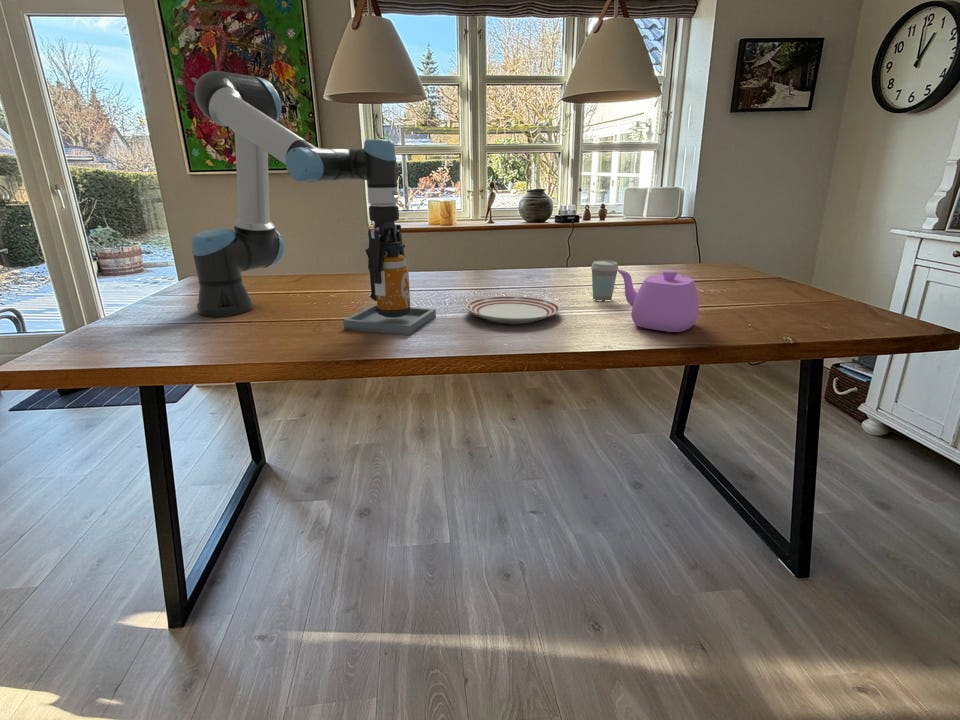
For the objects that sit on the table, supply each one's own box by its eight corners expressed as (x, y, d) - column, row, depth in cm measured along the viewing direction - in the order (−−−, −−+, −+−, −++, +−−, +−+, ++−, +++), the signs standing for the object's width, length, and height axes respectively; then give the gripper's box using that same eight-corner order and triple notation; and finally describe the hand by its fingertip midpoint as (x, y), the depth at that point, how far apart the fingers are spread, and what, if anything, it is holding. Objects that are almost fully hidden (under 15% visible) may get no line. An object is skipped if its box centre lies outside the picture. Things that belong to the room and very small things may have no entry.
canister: (404, 319, 139) (400, 243, 131) (365, 317, 141) (359, 242, 134) (415, 310, 147) (411, 238, 140) (378, 308, 149) (372, 237, 142)
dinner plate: (490, 300, 169) (490, 290, 168) (571, 309, 158) (572, 299, 157) (448, 322, 146) (448, 310, 145) (541, 335, 135) (541, 323, 134)
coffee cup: (614, 304, 163) (617, 265, 159) (586, 301, 166) (589, 264, 162) (616, 297, 171) (620, 261, 167) (590, 295, 173) (593, 259, 169)
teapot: (706, 320, 147) (714, 266, 141) (685, 339, 130) (694, 280, 125) (627, 308, 159) (632, 258, 154) (600, 324, 143) (604, 270, 137)
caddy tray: (343, 328, 140) (343, 319, 139) (375, 312, 155) (375, 304, 154) (409, 335, 134) (409, 326, 133) (435, 317, 150) (435, 309, 149)
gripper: (376, 208, 123) (382, 301, 131) (414, 202, 142) (418, 283, 150) (348, 207, 125) (356, 299, 133) (389, 201, 144) (394, 282, 152)
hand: (389, 291), depth 142 cm, fingers closed on canister, 9 cm apart
